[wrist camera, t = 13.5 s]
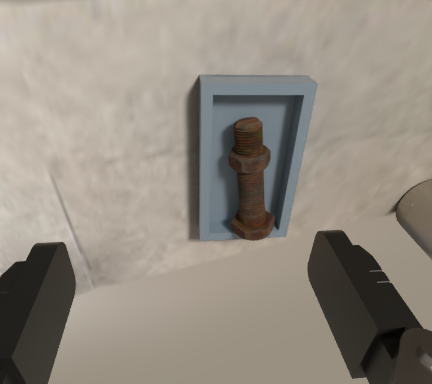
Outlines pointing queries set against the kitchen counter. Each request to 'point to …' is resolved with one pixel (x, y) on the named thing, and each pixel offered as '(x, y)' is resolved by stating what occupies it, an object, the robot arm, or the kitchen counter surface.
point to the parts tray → (272, 138)
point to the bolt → (250, 180)
